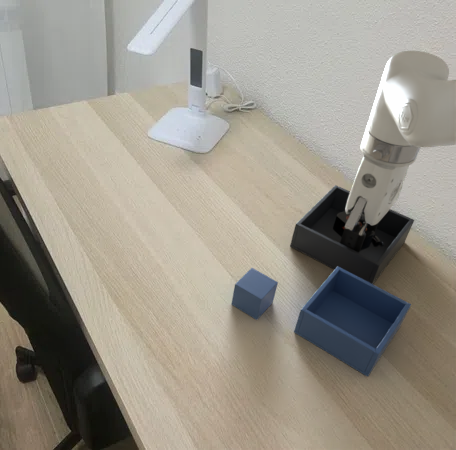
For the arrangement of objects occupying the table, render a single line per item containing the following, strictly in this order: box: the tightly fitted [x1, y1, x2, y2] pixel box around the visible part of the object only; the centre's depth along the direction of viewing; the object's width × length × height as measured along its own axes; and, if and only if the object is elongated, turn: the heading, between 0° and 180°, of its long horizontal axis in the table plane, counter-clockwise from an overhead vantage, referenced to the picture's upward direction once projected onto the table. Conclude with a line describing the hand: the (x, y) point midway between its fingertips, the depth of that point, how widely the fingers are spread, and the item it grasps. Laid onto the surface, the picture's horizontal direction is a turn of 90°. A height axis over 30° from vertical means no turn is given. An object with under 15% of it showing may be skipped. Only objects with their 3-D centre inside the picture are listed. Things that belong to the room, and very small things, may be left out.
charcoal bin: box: [289, 184, 415, 285], centre depth 91 cm, size 14×14×5 cm
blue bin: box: [293, 266, 412, 377], centre depth 78 cm, size 11×11×5 cm
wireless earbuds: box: [333, 211, 384, 251], centre depth 88 cm, size 5×7×3 cm, turn 27°
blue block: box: [231, 267, 279, 321], centre depth 81 cm, size 4×4×4 cm
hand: (356, 239), depth 88 cm, fingers closed on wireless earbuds, 4 cm apart
